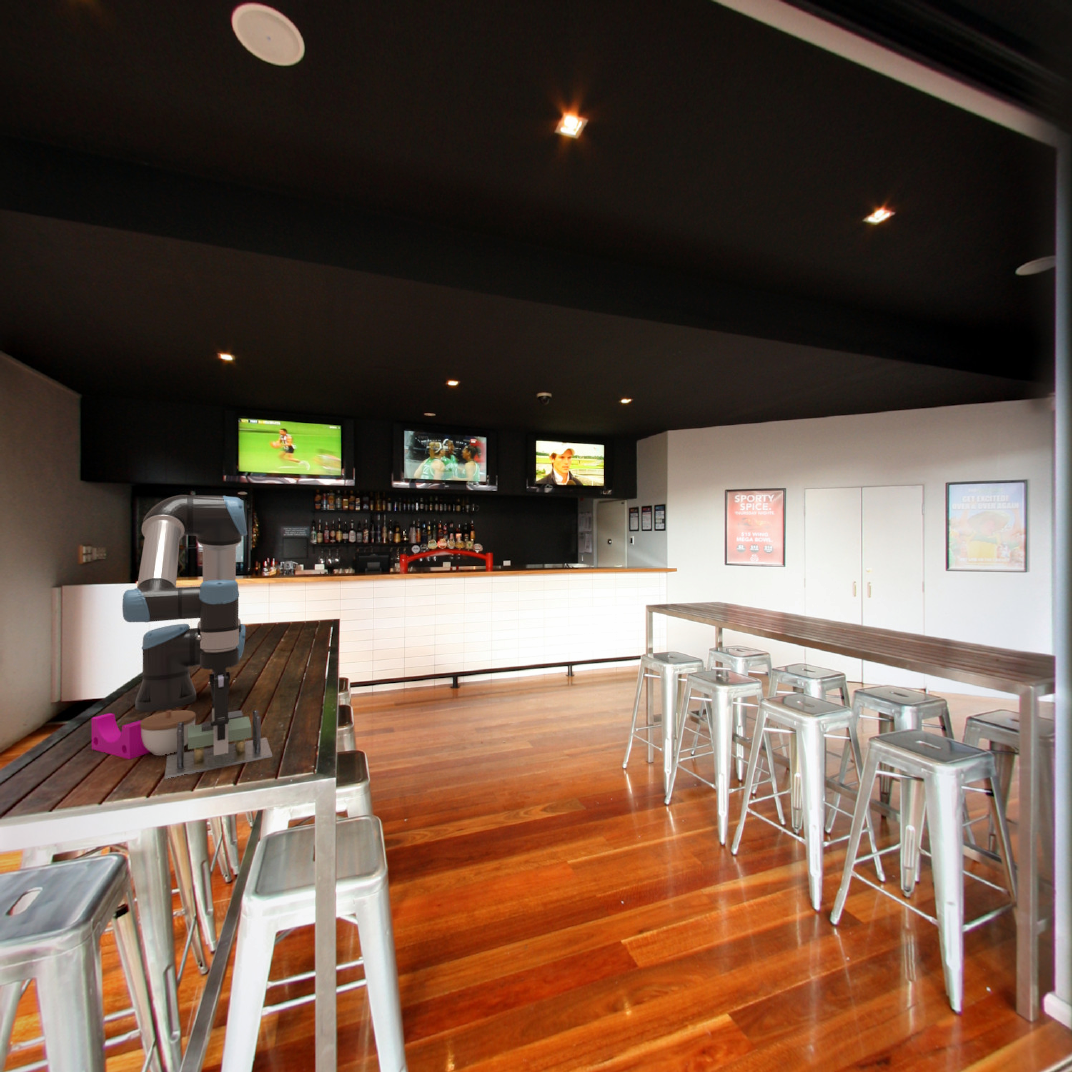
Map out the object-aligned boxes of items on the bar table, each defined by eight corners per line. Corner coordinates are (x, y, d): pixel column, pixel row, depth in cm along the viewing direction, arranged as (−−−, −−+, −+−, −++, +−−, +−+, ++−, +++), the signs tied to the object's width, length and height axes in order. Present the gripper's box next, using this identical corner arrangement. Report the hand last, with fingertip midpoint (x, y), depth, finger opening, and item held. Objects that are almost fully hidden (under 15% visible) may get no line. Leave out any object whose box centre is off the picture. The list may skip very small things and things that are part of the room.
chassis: (167, 760, 119) (167, 720, 119) (266, 741, 130) (266, 704, 130) (164, 781, 109) (164, 737, 109) (272, 758, 120) (272, 719, 120)
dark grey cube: (219, 733, 135) (219, 713, 135) (241, 729, 138) (241, 710, 138) (220, 739, 131) (220, 719, 131) (243, 735, 134) (243, 715, 134)
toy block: (158, 750, 125) (158, 718, 125) (129, 760, 119) (129, 727, 119) (121, 740, 131) (121, 710, 131) (91, 749, 125) (91, 718, 125)
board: (188, 737, 119) (188, 722, 119) (248, 726, 126) (248, 712, 126) (187, 749, 113) (187, 733, 113) (251, 737, 119) (251, 722, 119)
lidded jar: (206, 743, 128) (206, 705, 128) (166, 762, 118) (166, 720, 118) (170, 739, 131) (170, 701, 131) (128, 757, 120) (128, 716, 120)
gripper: (199, 641, 127) (199, 730, 127) (200, 661, 107) (200, 767, 107) (235, 638, 131) (235, 724, 131) (242, 656, 111) (242, 759, 111)
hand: (219, 744), depth 119 cm, fingers open, 12 cm apart
